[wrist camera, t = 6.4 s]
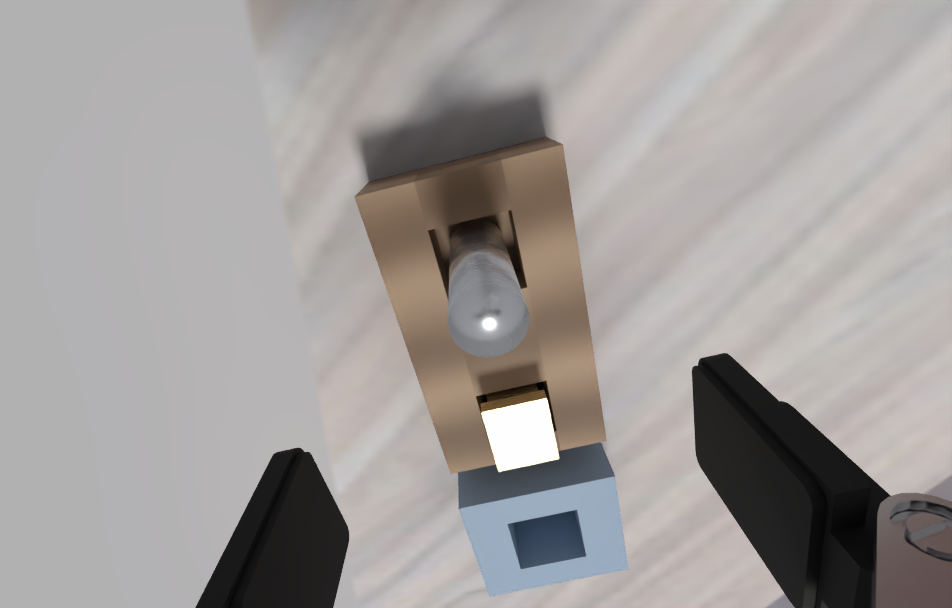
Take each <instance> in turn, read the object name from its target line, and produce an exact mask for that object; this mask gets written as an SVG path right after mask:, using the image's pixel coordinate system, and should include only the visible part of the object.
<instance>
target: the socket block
mask: <svg viewBox="0 0 952 608" xmlns="http://www.w3.org/2000/svg"><path fill="white" fill-rule="evenodd" d="M355 199H356V202H357V205H358V208H359V211H360V214H361V217H362V219H363V222H364V225H365V228H366V231H367V234H368V237H369V240H370V242H371V245H372V248H373V251H374V254H375V257H376V260H377V263H378V266H379V268H380V271H381V274H382V277H383V280H384V283H385V286H386V289H387V291H388V294H389V297H390V300H391V303H392V306H393V309H394V312H395V314H396V317H397V320H398V323H399V326H400V329H401V332H402V335H403V337H404V340H405V343H406V346H407V349H408V352H409V355H410V358H411V361H412V363H413V366H414V369H415V372H416V375H417V378H418V381H419V384H420V386H421V389H422V392H423V395H424V398H425V401H426V404H427V407H428V409H429V412H430V415H431V418H432V421H433V424H434V427H435V430H436V432H437V435H438V438H439V441H440V444H441V447H442V450H443V453H444V456H445V458H446V461H447V464H448V467H449V470H450V473H451V474H453V473H458V472H462V471H467V470H472V469H477V468H481V467H486V466H491V465H495V464H496V462H495V458H494V455H493V451H492V448H491V444H490V441H489V437H488V434H487V430H486V427H485V423H484V420H483V416H482V413H481V403H485V401H484V397H483V395H484V394H488V393H493V392H497V391H502V390H506V389H511V388H515V387H520V386H524V385H529V384H533V383H538V382H542V381H543V386H544V390H545V394H546V397H547V402H548V406H549V411H550V416H551V421H552V426H553V430H554V435H555V440H556V445H557V450H558V451H561V450H566V449H571V448H575V447H580V446H585V445H589V444H594V443H599V442H604V441H606V434H605V427H604V420H603V414H602V407H601V400H600V393H599V387H598V380H597V373H596V366H595V359H594V353H593V346H592V339H591V332H590V326H589V319H588V312H587V305H586V299H585V292H584V285H583V278H582V271H581V265H580V258H579V251H578V244H577V238H576V231H575V224H574V217H573V210H572V204H571V197H570V190H569V183H568V177H567V170H566V163H565V156H564V150H563V144H561V143H558V142H556V141H554V140H552V139H549V138H547V137H546V138H542V139H538V140H534V141H530V142H526V143H522V144H518V145H514V146H510V147H506V148H502V149H498V150H494V151H490V152H486V153H482V154H478V155H474V156H471V157H467V158H463V159H459V160H455V161H451V162H447V163H443V164H439V165H435V166H431V167H427V168H423V169H419V170H415V171H411V172H407V173H403V174H399V175H395V176H391V177H387V178H383V179H379V180H375V181H372V182H369V183H368V184H367V185H366V186H365V187H364V188H363V189H362V190H361V191H360V192H359V193H358V194H357V195H356V196H355ZM481 217H485V218H487V219H489V220H491V221H493V222H494V223H495V224H496V225H497V226H498V227H499V229H500V231H501V233H502V236H503V239H504V242H505V245H506V248H507V251H508V254H509V256H510V259H511V262H512V265H513V268H514V271H515V274H516V277H517V280H518V283H519V285H520V288H521V291H522V294H523V297H524V300H525V303H526V306H527V309H528V312H529V327H528V331H527V333H526V335H525V337H524V339H523V340H522V341H521V343H520V344H519V345H518V346H517V347H516V348H514V349H513V350H511V351H510V352H508V353H506V354H503V355H500V356H496V357H479V356H475V355H472V354H469V353H467V352H465V351H464V350H462V349H461V348H460V347H459V346H458V345H457V344H456V343H455V342H454V340H453V339H452V337H451V335H450V332H449V328H448V301H449V263H450V238H451V234H452V232H453V230H454V228H455V227H456V226H457V224H458V223H460V222H464V221H469V220H473V219H477V218H481Z"/></svg>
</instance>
